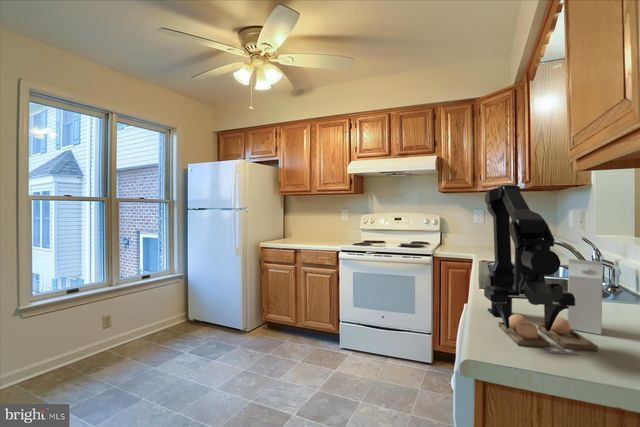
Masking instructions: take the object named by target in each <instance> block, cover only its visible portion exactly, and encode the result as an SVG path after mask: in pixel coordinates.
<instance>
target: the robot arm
mask: <svg viewBox="0 0 640 427" xmlns="http://www.w3.org/2000/svg"><path fill="white" fill-rule="evenodd" d="M484 202H485V204H486V207H487V211H488V213H489V214H490V215H491V216H492V221H493V222H492V223H493V246H494V248H493V249H494V250H493V251H494V262H493V265H491V267H490V269H489V271H488V272H489V273H488V274H489V275H488V276H487V279H486V282H485V285H484V290H483V293H484V294H483V296H484V297H486V298H487V299H488V300H489V301H490V302H491V305H490V306H491V308H487V309H486V310H487V311H488V312H489V313H490V314H491V315H492V316H494V317H501V319H502V322H504V325H505V327H506V328H507V329H509V317H510V316H511V315H514V314H515V313H514V312H513V299H519V300H520V299H521V300H527V301H528V303H529V304H530V305H533V306H538V305H542V306H543V308H544V310H543V311H544V314H543V318H544V325H545V329H546V331H550V329H551V327H552V325H553V323H554V321H555V319H556V317H558V315H559V314H560V313H561V312H562V311H563V310H568V308H569V306H575V297H574V295H573V294H572V293H570V292H568V290H565V289H564V286H563V285H562V284H561V283H556V282H555V283H554V282H553V283H547V282H546V280H545V278H546V277H545V276H551V275H554V274H555V273H557V272H558V271H559V269H560V268H561V260H560V257H559V256H558V254H557V253H556V252H555V251H552V250H551V248H552V247H555V244H554V241H555V238H554V235H553V233H552V231H551V228H550V227H549V224H548V222H546V220H545V218H544V217H543V216H542V215H541V214H539V213H537V212H535V211H532V210H531V208H530V207H529V205H528V203H527V201H526V200H525V198H524V197H523V194H522V193H521V188H520V185H517V184H502V185H499V186H498V187H496V188H492V189H489V190H488V191H487V192H486V193H485V195H484ZM510 219H511V220H510ZM511 239H512V241H513V244H514V245H513V246H514V264H513V261H512V243H511Z"/></svg>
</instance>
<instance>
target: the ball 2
mask: <svg viewBox="0 0 640 427" xmlns="http://www.w3.org/2000/svg"><path fill="white" fill-rule="evenodd" d="M517 332H518V334H519V335H520V336H521V337H522V338H524V339H526V340H532V339H534V338H535V337H536V336H537V334H539V333H538V332H539V331H538V327H537V326H536V325H535V324H534V323H533V322H531V321H523V322H520V323H519V324H518V326H517Z"/></svg>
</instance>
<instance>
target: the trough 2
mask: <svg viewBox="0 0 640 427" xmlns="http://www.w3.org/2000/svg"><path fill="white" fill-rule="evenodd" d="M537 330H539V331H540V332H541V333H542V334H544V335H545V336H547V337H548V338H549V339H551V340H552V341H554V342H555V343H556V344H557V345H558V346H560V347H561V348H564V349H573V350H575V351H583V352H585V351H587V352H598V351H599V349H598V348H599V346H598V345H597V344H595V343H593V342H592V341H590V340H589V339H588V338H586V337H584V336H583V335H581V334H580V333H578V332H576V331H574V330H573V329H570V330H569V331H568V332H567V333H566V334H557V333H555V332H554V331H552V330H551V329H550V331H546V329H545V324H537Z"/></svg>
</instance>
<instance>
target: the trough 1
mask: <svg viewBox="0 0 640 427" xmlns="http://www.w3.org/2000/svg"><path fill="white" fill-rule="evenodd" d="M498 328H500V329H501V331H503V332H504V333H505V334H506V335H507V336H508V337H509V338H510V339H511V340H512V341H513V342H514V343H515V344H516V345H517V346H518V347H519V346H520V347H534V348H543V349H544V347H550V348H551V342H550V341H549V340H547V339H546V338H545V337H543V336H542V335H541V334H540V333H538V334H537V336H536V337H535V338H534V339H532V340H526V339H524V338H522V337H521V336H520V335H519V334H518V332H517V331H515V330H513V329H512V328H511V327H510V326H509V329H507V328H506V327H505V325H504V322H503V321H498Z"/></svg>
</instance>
